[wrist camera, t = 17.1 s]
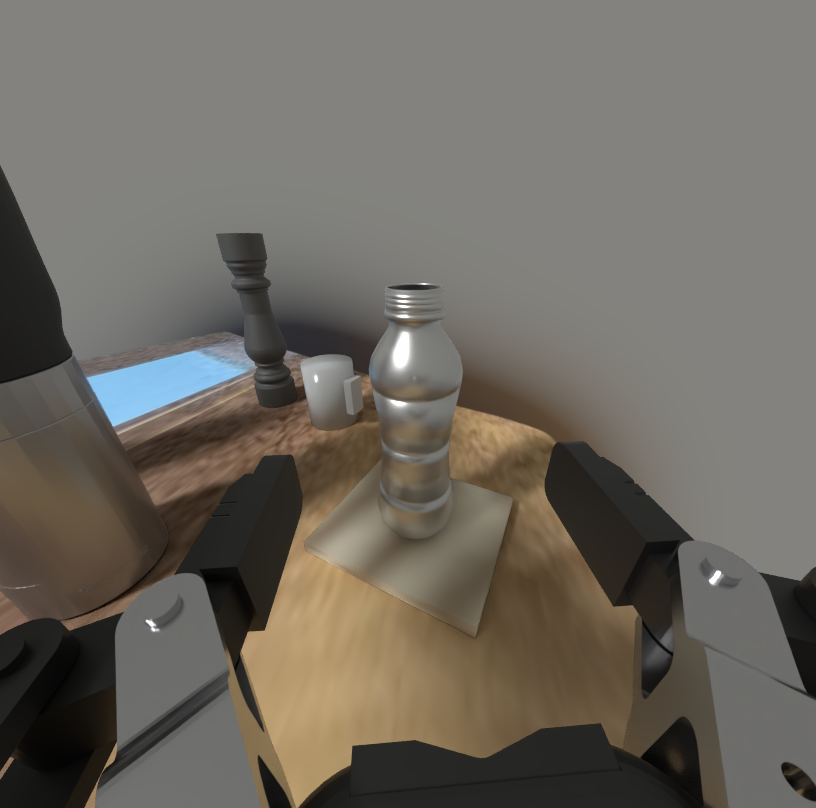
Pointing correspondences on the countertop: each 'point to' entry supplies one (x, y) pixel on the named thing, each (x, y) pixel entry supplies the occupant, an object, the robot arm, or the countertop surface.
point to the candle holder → (258, 317)
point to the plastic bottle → (415, 410)
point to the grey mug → (332, 391)
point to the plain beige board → (420, 550)
